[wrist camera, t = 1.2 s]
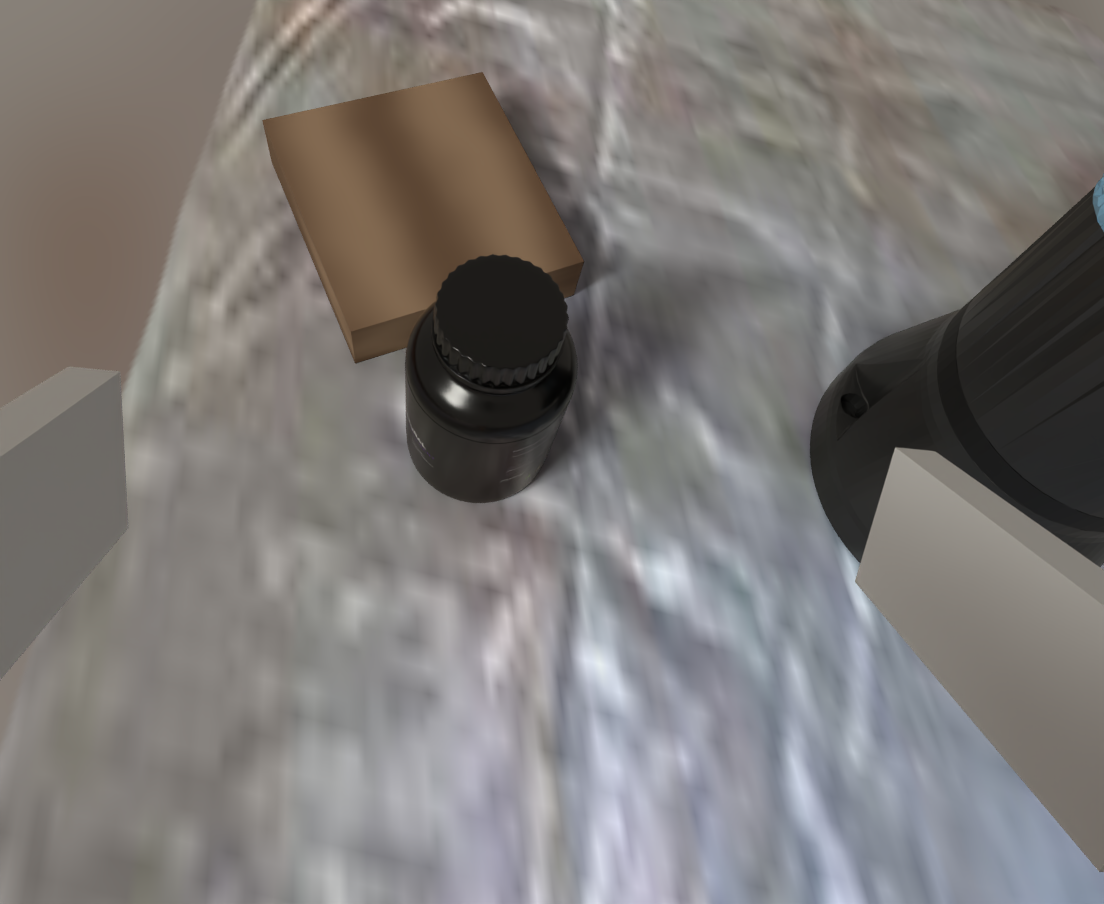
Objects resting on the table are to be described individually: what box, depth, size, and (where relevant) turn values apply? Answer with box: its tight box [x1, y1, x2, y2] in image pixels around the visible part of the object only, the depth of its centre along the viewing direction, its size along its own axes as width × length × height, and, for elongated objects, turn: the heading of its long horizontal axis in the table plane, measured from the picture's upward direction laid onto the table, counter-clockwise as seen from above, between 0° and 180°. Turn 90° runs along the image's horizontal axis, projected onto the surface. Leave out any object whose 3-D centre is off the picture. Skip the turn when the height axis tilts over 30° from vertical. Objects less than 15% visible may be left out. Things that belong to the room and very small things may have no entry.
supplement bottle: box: [405, 254, 578, 503], centre depth 35 cm, size 7×7×12 cm
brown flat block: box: [263, 72, 584, 363], centre depth 43 cm, size 12×13×3 cm
